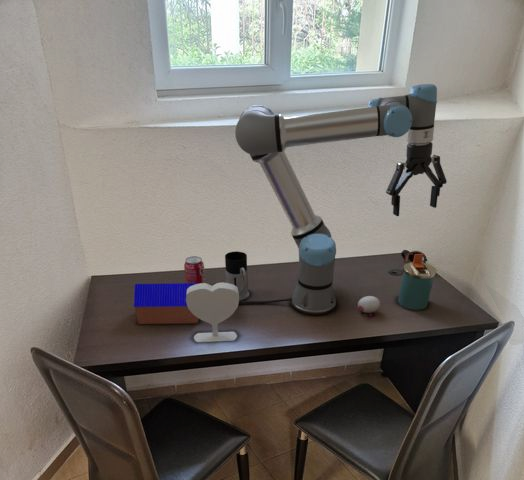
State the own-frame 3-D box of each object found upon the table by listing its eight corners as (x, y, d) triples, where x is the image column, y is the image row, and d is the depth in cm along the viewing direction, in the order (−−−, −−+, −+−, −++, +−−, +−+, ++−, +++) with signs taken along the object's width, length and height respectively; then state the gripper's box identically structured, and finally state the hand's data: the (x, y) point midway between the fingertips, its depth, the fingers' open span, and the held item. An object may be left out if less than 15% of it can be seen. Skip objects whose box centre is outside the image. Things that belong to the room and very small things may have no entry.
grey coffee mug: (244, 287, 171) (244, 249, 162) (257, 305, 160) (257, 265, 152) (222, 290, 169) (220, 252, 160) (233, 309, 158) (232, 269, 149)
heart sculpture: (240, 331, 147) (238, 280, 137) (240, 340, 143) (238, 288, 133) (191, 333, 146) (185, 282, 136) (190, 342, 142) (184, 290, 132)
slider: (412, 263, 157) (414, 254, 155) (421, 263, 157) (423, 253, 155) (415, 268, 154) (417, 258, 152) (424, 267, 154) (426, 258, 152)
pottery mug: (430, 268, 185) (433, 256, 177) (414, 283, 183) (416, 271, 176) (407, 252, 190) (409, 240, 183) (391, 267, 188) (392, 254, 181)
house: (198, 323, 151) (195, 292, 144) (137, 324, 150) (131, 293, 144) (201, 305, 161) (198, 274, 154) (143, 305, 160) (138, 275, 153)
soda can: (203, 284, 173) (201, 254, 166) (207, 292, 168) (205, 262, 161) (185, 286, 171) (181, 256, 164) (188, 295, 166) (185, 265, 159)
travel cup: (393, 295, 166) (400, 260, 158) (422, 294, 166) (430, 259, 158) (401, 310, 158) (409, 274, 149) (432, 310, 158) (441, 273, 150)
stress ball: (373, 315, 161) (370, 296, 161) (384, 313, 153) (382, 293, 153) (353, 318, 159) (351, 298, 159) (364, 316, 151) (361, 296, 151)
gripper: (388, 152, 136) (385, 221, 148) (463, 137, 140) (454, 206, 152) (376, 147, 142) (375, 214, 155) (449, 133, 146) (441, 200, 158)
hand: (414, 210), depth 153 cm, fingers open, 13 cm apart
